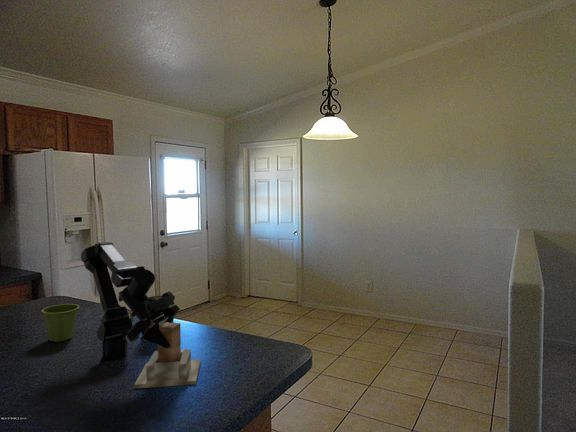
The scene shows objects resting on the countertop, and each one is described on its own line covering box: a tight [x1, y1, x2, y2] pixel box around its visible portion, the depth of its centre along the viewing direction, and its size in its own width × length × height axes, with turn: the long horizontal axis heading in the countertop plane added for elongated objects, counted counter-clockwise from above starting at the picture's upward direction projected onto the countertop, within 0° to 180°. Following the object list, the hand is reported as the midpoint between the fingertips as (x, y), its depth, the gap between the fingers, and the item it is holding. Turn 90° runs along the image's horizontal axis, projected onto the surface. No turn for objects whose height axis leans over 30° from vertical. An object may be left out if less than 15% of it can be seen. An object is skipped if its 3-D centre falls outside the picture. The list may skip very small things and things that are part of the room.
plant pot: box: [41, 303, 81, 343], centre depth 136 cm, size 12×12×11 cm
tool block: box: [133, 348, 202, 389], centre depth 108 cm, size 16×14×5 cm
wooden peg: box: [157, 322, 182, 363], centre depth 108 cm, size 4×4×12 cm
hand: (173, 344), depth 107 cm, fingers closed on wooden peg, 4 cm apart
